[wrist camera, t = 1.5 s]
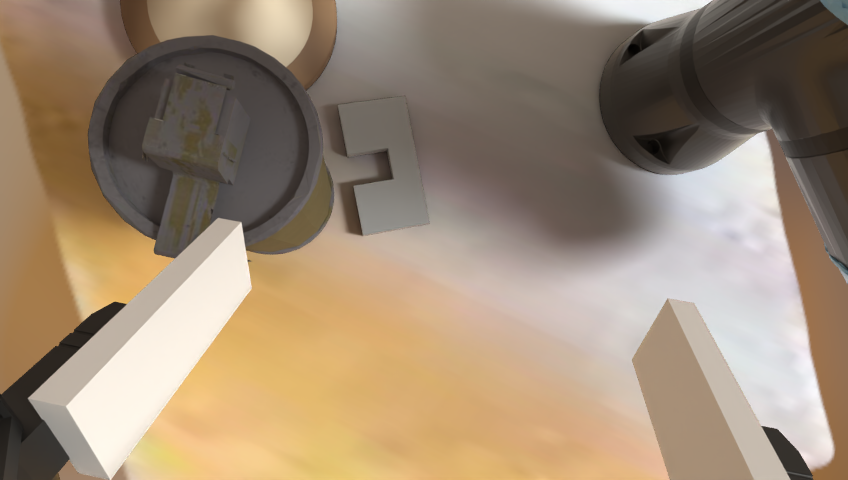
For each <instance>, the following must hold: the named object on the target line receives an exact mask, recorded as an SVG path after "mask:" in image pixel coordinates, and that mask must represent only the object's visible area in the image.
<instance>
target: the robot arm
mask: <svg viewBox="0 0 848 480" xmlns="http://www.w3.org/2000/svg"><path fill="white" fill-rule="evenodd" d="M600 107H601V113H602V117H603V120H604V123H605V126H606V129H607V131H608V133H609V135H610V137H611V138H612V140H613V142H614V143H615V144H616V146H617V147H618V148H619V150H620V151H621V152H622V153H623V154H624V155H625V156H626V157H627V158H628V159H630V160H631V161H632V162H634V163H635V164H637V165H638V166H640V167H642V168H644V169H646V170H648V171H651V172H655V173H659V174H665V175H677V174H683V173H687V172H691V171H695V170H699V169H702V168H705V167H707V166H710V165H712V164H714V163H716V162H718V161H719V160H721V159H722V158H724V157H725V156H726V155H728V154H729V153H731V152H732V151H733V150H735V149H736V148H738V147H739V146H740V145H742V144H743V143H745V142H746V141H747V140H749V139H750V138H752V137H753V136H754V135H756V134H757V133H760V132H763V131H767V130H770V129H773V131H774V133H775V135H776V137H777V139H778V141H779V143H780V145H781V147H782V149H783V152H784V154H785V156H786V158H787V160H788V163H789V165H790V167H791V169H792V172H793V174H794V176H795V178H796V181H797V183H798V185H799V187H800V190H801V192H802V194H803V196H804V198H805V201H806V203H807V205H808V207H809V210H810V211H811V214H812V216H813V218H814V220H815V223H816V225H817V227H818V230H819V232H820V234H821V236H822V238H823V240H824V245H825V249H826V252H827V253H828V254H829V257H830V259H831V260H832V262H833V263H834V264H835V265H836V266H837V267H838V268H839V269H840V271H841V273H842V275H843V277H844V278H845V280H846V282H847V284H848V0H713V1H711V2H710V3H708V4H707V5H706V6H704V7H703V8H700V9H697V10H694V11H690V12H687V13H683V14H680V15H676V16H673V17H670V18H666V19H663V20H659V21H656V22H654V23H651V24H649V25H647V26H645V27H643V28H642V29H640V30H639V31H637V32H636V33H635V34H633V35H632V36H631V37H629V38H628V39H627V40H626V41H624V42H623V43H622V44H621V45H620V46H619V47H618V48H617V49H616V50H615V51H614V53H613V54H612V55H611V57H610V59H609V60H608V62H607V64H606V67H605V69H604V72H603V75H602V79H601V85H600ZM251 289H252V287H251V281H250V274H249V268H248V261H247V255H246V248H245V242H244V235H243V229H242V223H241V222H238V221H232V220H227V219H221V218H217V219H216V220H215V221H214V222H213V223H212V224H211V225H210V226H209V227H208V228H207V229H206V230H205V231H204V232H203V233H202V234H201V235H200V236H198V237H197V238H196V239H195V240H194V241H193V242H192V243H191V244H190V245H189V246H188V247H187V248H186V249H185V250H184V251H183V252H182V253H181V254H179V255H178V256H177V257H176V258H175V259H174V260H173V261H172V262H171V263H170V264H169V265H168V266H167V267H166V268H165V269H164V270H163V271H162V272H161V273H159V274H158V275H157V276H156V277H155V278H154V279H153V280H152V281H151V282H150V283H149V284H148V285H147V286H146V287H145V288H144V289H143V290H142V291H140V292H139V293H138V294H137V295H136V296H135V297H134V298H133V299H132V300H131V301H130V302H129V303H128V304H124V303H118V302H113V303H111V304H109V305H108V306H106V307H104V308H102V309H100V310H98V311H96V312H95V313H93V314H91V315H90V316H89V317H88V318H87V319H86V320H84V321H83V322H82V323H81V324H80V325H79V326H78V327H77V328H76V329H74V332H73V333H70V334H69V335H68V336H67V337H65V338H64V339H63V340H62V341H61V342H60V344H59V346H55V347H54V348H53V349H52V350H51V351H50V352H49V353H47V354H46V355H45V356H44V357H43V358H42V359H41V360H40V361H39V362H37V363H36V364H35V365H34V366H33V367H32V368H31V369H29V370H28V371H27V372H26V373H25V374H24V375H23V376H22V377H21V378H19V379H18V380H17V381H16V382H15V383H14V384H13V385H12V386H10V387H9V388H8V389H7V390H6V391H5V392H4V393H3V394H0V480H60V477H59V474H58V472H59V471H60V470H61V468H62V467H63V466H64V465H65V464H66V462H67V461H68V460H70V461H71V463H72V464H73V466H74V467H75V469H76V470H77V472H78V473H81V474H85V475H89V476H94V477H99V478H103V479H108V480H111V479H112V477H113V476H114V475H115V473H116V472H117V471H118V469H119V468H120V467H121V465H122V464H123V463H124V461H125V460H126V458H127V457H128V456H129V454H130V453H131V452H132V450H133V449H134V448H135V446H136V445H137V444H138V442H139V441H140V439H141V438H142V437H143V435H144V434H145V433H146V431H147V430H148V429H149V427H150V426H151V424H152V423H153V422H154V420H155V419H156V418H157V416H158V415H159V414H160V412H161V411H162V410H163V408H164V407H165V405H166V404H167V403H168V401H169V400H170V399H171V397H172V396H173V395H174V393H175V392H176V391H177V389H178V388H179V386H180V385H181V384H182V382H183V381H184V380H185V378H186V377H187V376H188V374H189V373H190V372H191V370H192V369H193V367H194V366H195V365H196V363H197V362H198V361H199V359H200V358H201V357H202V355H203V354H204V352H205V351H206V350H207V348H208V347H209V346H210V344H211V343H212V342H213V340H214V339H215V338H216V336H217V335H218V333H219V332H220V331H221V329H222V328H223V327H224V325H225V324H226V323H227V321H228V320H229V319H230V317H231V316H232V314H233V313H234V312H235V310H236V309H237V308H238V306H239V305H240V304H241V302H242V301H243V299H244V298H245V297H246V295H247V294H248V293H249V291H250V290H251ZM632 362H633V365H634V368H635V371H636V375H637V378H638V381H639V384H640V387H641V390H642V393H643V397H644V400H645V403H646V406H647V409H648V412H649V415H650V419H651V422H652V425H653V428H654V431H655V434H656V437H657V441H658V444H659V447H660V450H661V453H662V456H663V459H664V463H665V466H666V469H667V472H668V475H669V478H670V480H813V478H812V476H813V475H812V474H811V472H810V470H809V468H808V467H807V465H806V463H805V461H804V460H803V458H802V456H801V455H800V453H799V451H798V450H797V449H796V448H795V447H794V446H793V445H792V444H791V443H790V442H789V441H788V440H787V439H786V438H785V437H784V436H783V434H782V433H781V432H780V431H779V430H778V429H774V428H769V427H764V426H761V425H760V423H759V421H758V419H757V417H756V416H755V414H754V412H753V410H752V408H751V406H750V405H749V403H748V401H747V399H746V397H745V395H744V394H743V392H742V390H741V388H740V386H739V384H738V383H737V381H736V379H735V377H734V375H733V373H732V372H731V370H730V368H729V366H728V364H727V362H726V361H725V359H724V357H723V355H722V353H721V351H720V350H719V348H718V346H717V344H716V342H715V340H714V339H713V337H712V335H711V333H710V331H709V329H708V328H707V326H706V324H705V322H704V320H703V318H702V317H701V315H700V313H699V311H698V309H697V307H696V306H695V304H694V303H690V302H685V301H679V300H674V299H667V301H666V302H665V304H664V306H663V307H662V309H661V311H660V313H659V314H658V316H657V318H656V319H655V321H654V323H653V325H652V326H651V328H650V330H649V331H648V333H647V335H646V336H645V338H644V340H643V342H642V343H641V345H640V347H639V348H638V350H637V352H636V354H635V355H634V357H633V359H632Z"/></svg>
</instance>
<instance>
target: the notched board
mask: <svg viewBox="0 0 848 480" xmlns="http://www.w3.org/2000/svg"><path fill="white" fill-rule="evenodd" d="M338 111H339V116H340V121H341V127H342V132H343V137H344V142H345V147H346V152H347V157H353V156H359V155H366V154H372V153H379V152H385V151H387V154H388V160H389V165H390V170H391V175H392V179H391V180H385V181H379V182H373V183H367V184H361V185H355V186H354V187H353V188H354V194H355V199H356V204H357V209H358V214H359V219H360V224H361V230H362V235H363V236H366V235H371V234H377V233H382V232H387V231H393V230H398V229H403V228H409V227H414V226H419V225H425V224H429V223H430V221H429V216H428V211H427V206H426V201H425V196H424V191H423V185H422V180H421V175H420V170H419V165H418V160H417V155H416V149H415V144H414V139H413V134H412V129H411V124H410V119H409V114H408V108H407V103H406V98H405V96H399V97H391V98H384V99H376V100H368V101H361V102H353V103H346V104H338Z"/></svg>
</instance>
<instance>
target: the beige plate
mask: <svg viewBox="0 0 848 480" xmlns="http://www.w3.org/2000/svg"><path fill="white" fill-rule="evenodd" d="M120 5H121V13H122V19H123V22H124V26H125V30H126V32H127V35H128V37H129V39H130V42H131V44H132V45H133V47H134V49H135V50H136V52H137V54H138V53H140V52H141V51H143V50H144V49H146V48H148V47H150V46H152V45H155V44H158V43H160V42H163V41H166V40H169V39H175V38H180V37H187V36H206V35H215V36H219V37H223V38H228V39H232V40H236V41H241V42H244V43H246V44H249V45H252V46H255V47H256V48H258V49H260V50H262V51H264V52H265V53H267V54H269V55H271V56H272V57H274V58H275V59H277V60H278V61H279V62H280V63H281V64H283V65H284V66H285V67H286V68H287V69H289V70H290V71H291V72H292V73H293V74H294V76H295V77H296V78H297V79H298V81H299V82H300V83H301V84H302V86H303V87H304V89H305V90H307V89H308V88H309V87H310V86H312V85H313V83H314V82H315V81H316V80H317V79H318V78H319V76H320V75H321V74H322V72H323V71H324V69H325V67H326V66H327V64H328V62H329V59H330V57H331V55H332V52H333V48H334V45H335V40H336V33H337V11H336V3H335V0H120Z"/></svg>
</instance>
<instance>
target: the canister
mask: <svg viewBox="0 0 848 480" xmlns="http://www.w3.org/2000/svg"><path fill="white" fill-rule="evenodd" d="M88 144H89V154H90V161H91V168H92V171H93V173H94V175H95V178H96V180H97V182H98V185H99V187H100V189H101V191H102V194H103V196H104V197H105V198H106V200H107V201H108V202H109V203H110V205H111V206H112V207H113V208H114V209H115V211H116V212H117V213H118V214H119V215H120V216H121V218H122V219H123V220H124V221H125V222H127V223H128V224H130V225H131V226H132V227H134V228H135V229H137V230H138V231H139V232H141V233H142V234H144V235H145V236H148V237H150V238H152V239H154V240H156V243H155V247H154V253H155V254H157V255H162V256H166V257H171V258H176V257H177V256H178V255H179V254H181V253H182V252H183V251H184V250H185V249H186V248H187V247H188V246H189V245H190V244H191V243H192V242H193V241H194V240H195V239H196V238H197V237H198V236H200V235H201V234H202V233H203V232H204V231H205V230H206V229H207V228H208V227H209V226H210V225H211V224H212V223H213V222H214V221H215V220H216V219H217V218H221V219H227V220H232V221H238V222H241V223H242V229H243V235H244V242H245V248H246V250H249V251H252V252H255V253H261V254H283V253H287V252H291V251H294V250H297V249H299V248H301V247H303V246H304V245H306V244H308V243H309V242H311V241H312V240H313V239H314V238H315V237H317V236H318V234H319V233H320V232H321V231H322V229H323V228H324V227H325V225H326V223H327V221H328V219H329V218H330V215H331V212H332V207H333V202H334V188H333V181H332V178H331V175H330V172H329V170H328V168H327V166H326V164H325V162H324V158H323V138H322V130H321V126H320V122H319V118H318V115H317V112H316V109H315V107H314V105H313V103H312V101H311V99H310V97H309V95H308V94H307V92H306V90H305V89H304V87H303V86H302V84H301V83H300V82H299V81H298V79H297V78H296V77H295V76H294V74H293V73H292V72H291V71H290V70H289V69H287V68H286V67H285V66H284V65H283V64H281V63H280V62H279V61H278V60H277V59H275V58H274V57H272V56H271V55H269V54H267V53H265V52H264V51H262V50H260V49H258V48H256V47H255V46H252V45H249V44H246V43H244V42H241V41H236V40H232V39H228V38H223V37H219V36H215V35H206V36H187V37H180V38H175V39H169V40H166V41H163V42H160V43H158V44H155V45H152V46H150V47H148V48H146V49H144V50H143V51H141V52H140V53H138V54H136V55H135V56H133V57H131V58H130V59H128V60H127V61H126V62H125V63H124V64H123V65H122V66H121V67H120V68H119V69H118V70H117V71H116V73H115V74H114V75H113V76H112V77H111V78H110V79H109V80H108V81H107V83H106V85H105V86H104V88H103V90H102V91H101V93H100V95H99V96H98V98H97V100H96V101H95V104H94V108H93V112H92V116H91V120H90V125H89V130H88ZM247 261H248V262H249V260H247Z"/></svg>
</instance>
